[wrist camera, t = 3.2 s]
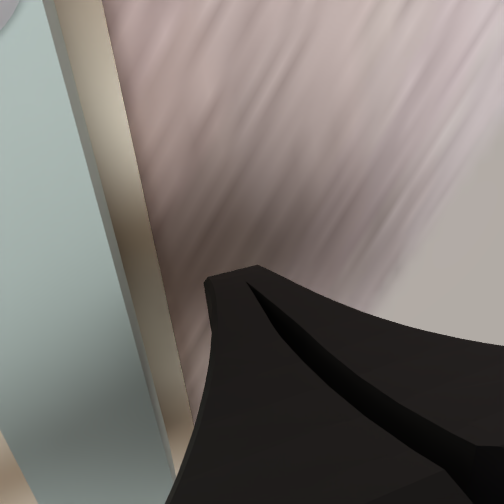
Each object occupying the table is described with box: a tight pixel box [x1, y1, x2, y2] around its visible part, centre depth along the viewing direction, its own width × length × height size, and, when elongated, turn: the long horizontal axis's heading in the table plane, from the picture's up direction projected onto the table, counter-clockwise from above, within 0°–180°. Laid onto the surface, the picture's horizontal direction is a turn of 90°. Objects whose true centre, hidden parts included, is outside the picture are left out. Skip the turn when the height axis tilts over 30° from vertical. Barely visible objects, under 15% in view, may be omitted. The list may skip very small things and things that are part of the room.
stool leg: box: [0, 0, 176, 504], centre depth 8 cm, size 13×2×3 cm, turn 6°
